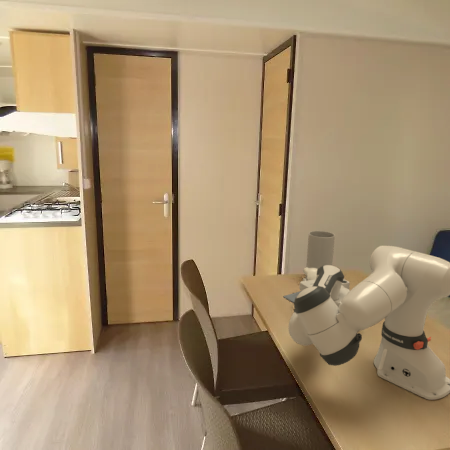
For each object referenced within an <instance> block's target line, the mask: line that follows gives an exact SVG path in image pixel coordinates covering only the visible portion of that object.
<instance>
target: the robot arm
mask: <svg viewBox="0 0 450 450" xmlns="http://www.w3.org/2000/svg"><path fill="white" fill-rule="evenodd" d="M369 266H370V270H371V274H369V275H368V276H367V277H366V278H364V279H363V280H362V281H360V282H359V283H357V284H356V285H354V286H353V288H351V289H350V285H351V283H350V281H349V280H346V279H345V274H344V273H343V271H342V270H341V269H340V268H339V267H338V266H336V265H333V264H332V265H323V266H321V267H320V268H318V269H317V274H316V275H317V276H316V280H308V279H306V277H304V278H302V281H300V282H299V285H298V286H299V291H301V292H300V293H299V294H298V296H297V297H296V298H295V301H294V303H293V307H294V309H293V313H292V315H291V317H290V319H289V322H288V333H289V336H290V338H291V339H292V340H293V342H295V343H296V344H298V345H301V346H306V347H307V346H310V345H311V346H312V345H313V346H315V349H316V350H317V351H318V353H319V356H320V357H321V358H322V360H323V361H324V362H325V363H326V364H328V365H329V366H333V367H334V366H335V367H336V366H337V367H338V366H340V365H341V366H342V365H344V364H347V363H348V362H350V361H351V360H352V359H355V357H356V356H357V353H358V352H359V348H360V343H361V341H362V339H363V336H362V334H361V333H358V332H360V331H364V330H367V329H369V328H371V327H373V326H375V325H377V324H379V323H380V322H382V321H383V320H384V321H383V322H382V327H381V340H380V344H379V347H378V350H377V353H376V355H375V357H374V359H373V364H374V366H375V368H376V370H377V376H378V377H379V378H382V379H384V380H386V381H388V382H390V383H391V384H394V385H396V386H398V387H400V388H402V389H405V390H406V391H408V392H410V393H413V394H415V395H417V396H419V397H421V398H424V399H426V400H430V401H431V400H432V401H434V400H440V399H443V398H444V397H446V396H448V395H449V394H450V378H449V377H448V376H447V374H446V365H445V363H444V361H442V360H441V359H440V358H439V356H438V355H436V353H435V352H434V351H433V349H432V348H431V347H430V346H429V344H428V342H431V340H432V336H429V337H426V332H425V329H424V328H425V323H426V319H427V315H428V312H429V309H430V308H431V306H433V304H434V303H435V302H437V301H439V300H441V299H444V298H447V297H449V296H450V261H448V260H446V259H444V258H441V257H437V256H434V255H432V254H431V255H430V254H427V253H424V252H419V251H415V250H411V249H408V248H404V247H400V246H397V245H396V246H395V245H394V246H393V245H379V246H378V247H376V248H375V249H374V250H373V251H372V253H371V255H370V257H369Z"/></svg>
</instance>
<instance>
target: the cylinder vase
mask: <svg viewBox="0 0 450 450" xmlns="http://www.w3.org/2000/svg"><path fill="white" fill-rule="evenodd" d="M335 237H336V234H335V233H333V232H330V231H325V230H311V231H309V232H308V240H307V252H306V253H307V255H306V267H308V268H317V269H318V268H320V267H321V266H323V265H332V266H333V260H334V248H335V239H336V238H335ZM306 267H305V268H306ZM305 278H306V279H307V275H306V274H305Z"/></svg>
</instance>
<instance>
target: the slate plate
mask: <svg viewBox="0 0 450 450" xmlns="http://www.w3.org/2000/svg"><path fill="white" fill-rule="evenodd" d="M300 292H301V290H299V291H296V292H293V293H289V294H286V295H283V299H285V300H286V301H287V300H288V301H289V302H290V303H293V304H294V301H295V298H296V297H297V296H298V294H299V293H300Z"/></svg>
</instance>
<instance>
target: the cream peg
mask: <svg viewBox="0 0 450 450" xmlns="http://www.w3.org/2000/svg"><path fill="white" fill-rule="evenodd" d="M302 273H303V274H304V275H305V276H306V275H307V279H308V280H316V276H317V275H316V274H317V268H308V267H304V268H303V270H302Z"/></svg>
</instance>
